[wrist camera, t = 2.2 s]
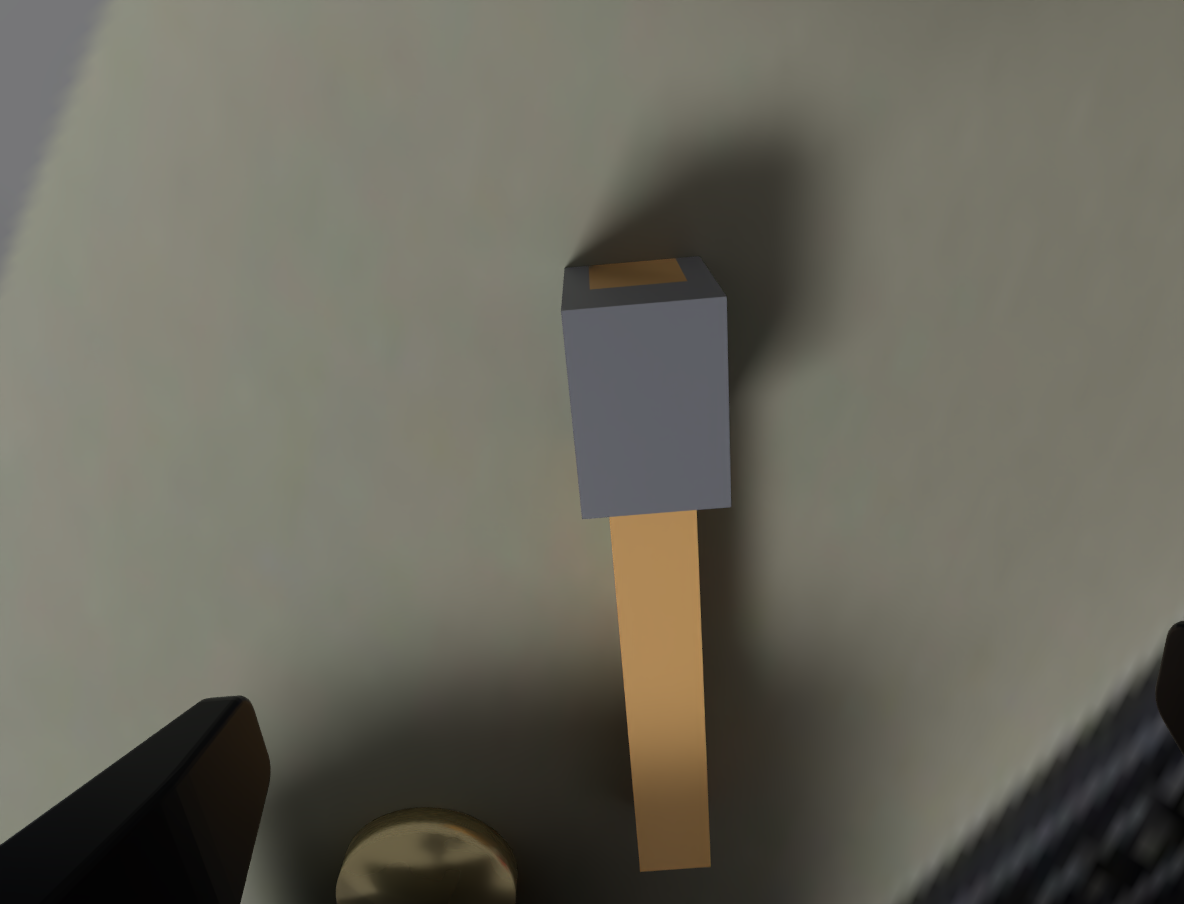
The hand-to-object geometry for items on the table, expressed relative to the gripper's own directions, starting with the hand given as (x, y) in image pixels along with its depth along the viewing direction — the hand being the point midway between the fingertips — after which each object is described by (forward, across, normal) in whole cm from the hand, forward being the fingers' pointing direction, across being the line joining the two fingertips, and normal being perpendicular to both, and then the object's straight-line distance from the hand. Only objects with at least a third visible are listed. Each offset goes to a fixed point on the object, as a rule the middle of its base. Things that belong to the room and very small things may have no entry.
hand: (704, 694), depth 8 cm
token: (+11, +7, +15) cm, 20 cm away
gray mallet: (+11, 0, +5) cm, 12 cm away
